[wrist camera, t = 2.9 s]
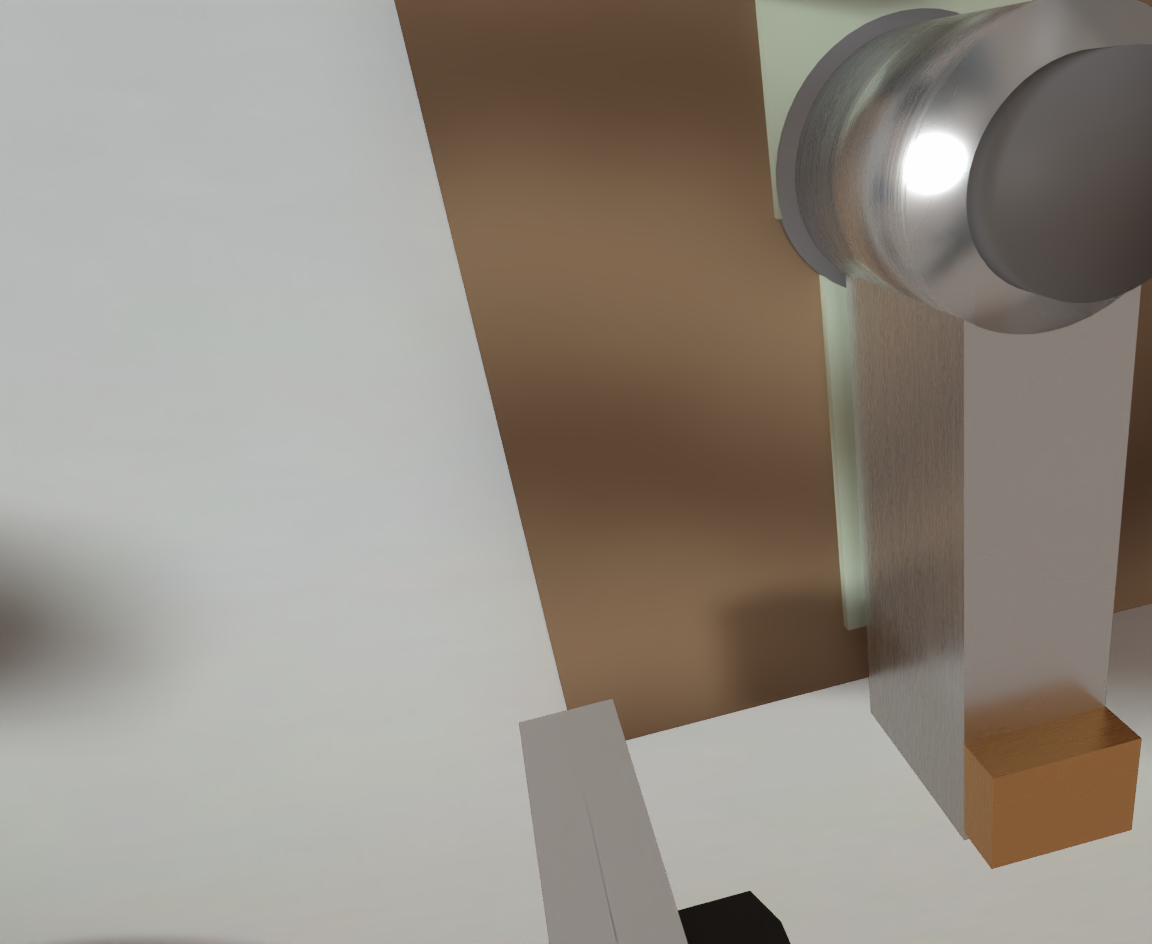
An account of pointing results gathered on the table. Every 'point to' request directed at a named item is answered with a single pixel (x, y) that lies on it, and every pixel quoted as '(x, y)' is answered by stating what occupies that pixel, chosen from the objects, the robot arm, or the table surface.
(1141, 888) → the table surface
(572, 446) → the lock board
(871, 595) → the swing bar
